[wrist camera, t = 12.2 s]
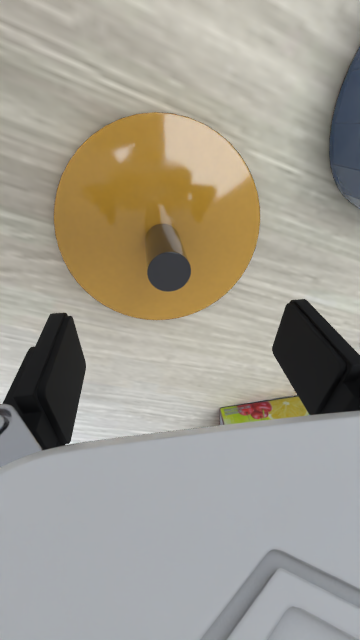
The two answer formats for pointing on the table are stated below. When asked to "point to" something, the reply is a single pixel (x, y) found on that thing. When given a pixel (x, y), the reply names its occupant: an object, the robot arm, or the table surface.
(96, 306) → the table surface
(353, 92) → the bowl
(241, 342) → the table surface
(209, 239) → the cover
